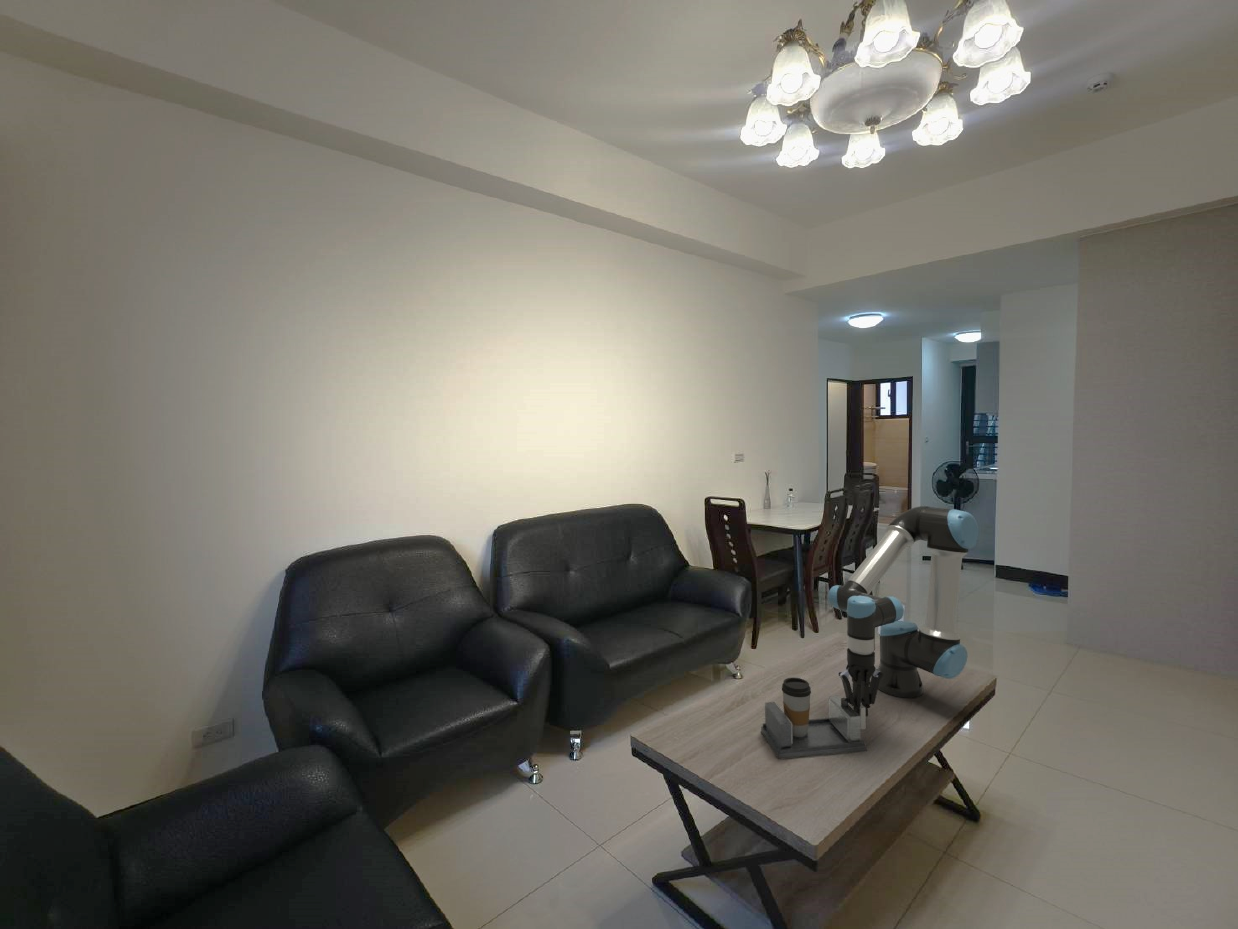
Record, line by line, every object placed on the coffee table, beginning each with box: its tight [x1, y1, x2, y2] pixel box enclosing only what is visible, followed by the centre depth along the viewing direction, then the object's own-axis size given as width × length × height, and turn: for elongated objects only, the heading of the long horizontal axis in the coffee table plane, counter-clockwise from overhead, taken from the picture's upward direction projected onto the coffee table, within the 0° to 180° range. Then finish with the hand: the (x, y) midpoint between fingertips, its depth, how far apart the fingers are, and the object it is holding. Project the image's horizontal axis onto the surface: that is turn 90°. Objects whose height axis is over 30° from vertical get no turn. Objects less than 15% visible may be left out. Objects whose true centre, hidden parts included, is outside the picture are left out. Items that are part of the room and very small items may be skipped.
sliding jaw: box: [828, 695, 861, 742], centre depth 160 cm, size 4×12×10 cm, turn 6°
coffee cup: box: [781, 677, 812, 737], centre depth 161 cm, size 8×8×15 cm
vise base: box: [760, 701, 868, 760], centre depth 159 cm, size 26×14×10 cm, turn 96°
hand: (860, 726), depth 160 cm, fingers closed
